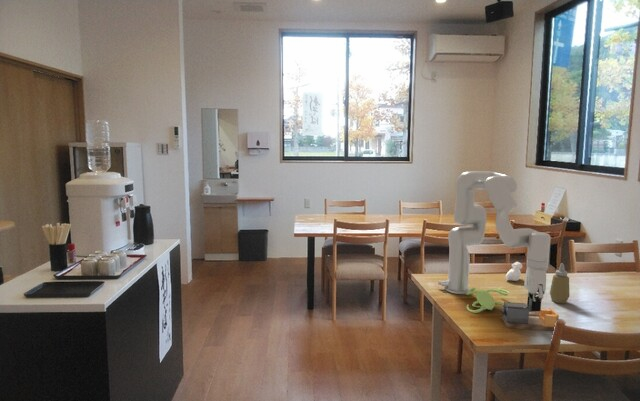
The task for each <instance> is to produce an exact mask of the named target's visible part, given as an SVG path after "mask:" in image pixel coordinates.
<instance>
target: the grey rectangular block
mask: <svg viewBox="0 0 640 401" xmlns="http://www.w3.org/2000/svg"><path fill="white" fill-rule="evenodd" d="M532 301H533V297H530V296H529V303H528V307H529V317H534V318H539V316H540V311H532V310H531V308H532ZM506 314H507V307H506Z"/></svg>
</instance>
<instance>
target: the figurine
mask: <svg viewBox="0 0 640 401" xmlns="http://www.w3.org/2000/svg"><path fill="white" fill-rule="evenodd" d="M495 292H496V293H497V294H500V296H501V295H502V296H505V297H506V296H508V295H509V293H510V291H508V290H506V289H503V288H499V287H498V288H497V289H496V288H495V289H494V288H489V289H478V290H477V289H476V287H471V289H470V290H469V291H468V292H467V293H466V294H465V295H466V296H470V295H473V294H475V298H476V300H475V301H473V303H472V304H471V305H472V307H474V308H478V309H470V307H469V306H470V305H469V303H468V304H467V305H466V309H467V311H468V312H470V313H473V314H477V313H481V312H483V311H486V310H490V311H493V309H494V308H495V306H496V305H498V306H501V307H502V308H501V309H500V311H502V312H503V311H504V302H498V301H495V299H494V297H493V296H492V295H491V294H490V293H495ZM477 304H479V305H477Z"/></svg>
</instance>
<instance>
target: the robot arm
mask: <svg viewBox="0 0 640 401" xmlns="http://www.w3.org/2000/svg"><path fill="white" fill-rule="evenodd" d="M517 188H518V184H517V181H516V180H515V178H514V177H513V176H511V175H508V174H504V173H499V172H496V171H490V170H485V171H484V170H483V171H481V170H474V171H473V170H472V171H465V172H462V173H461V174H459V176H458V177H457V179H456V181H455V191H456V192H455V196H456V197H455V202H454V204H455V205H454V210H453V219H454V223H456V224H458V225H462V226H457V227H454V228H451V229H450V230H449V232H448V235H447V237H448V239H447V240H448V246H449V250H448V251H449V254H448V255H449V256H448V258H449V260H448V272H447V275H448V276H447V278H446V280H437V285H440V286H442V287H443V289H444V290H445V291H446V292H447V293H451V294H455V295H466V293H467V292H468V291H469V290H470V289H472V287H471V288H470V287H469V279H470V278H469V275H470V264H471V263H470V262H471V261H470V258H471V256H470V251H469V250H468V247H472V246H473V247H474V246H478V245H480V244H482V243H483V241H484V239H485V233H486V225H487V211H486V209H485V207H484V206H482V205H481V204H475V201H476V200H475V199H476V197H475V194H474V193H475V192H474V191H473V190H475V191H476V190H479V191H480V190H484V191H485V192H486V195H487V196H488V198H489V199H490V201H491V203H492V205H493V208H494V209H495V211H496V216H495V229H496V232H497V233H498V235H499V237H500V238H499V239H501V241H502V243H504V245H505V246H507V247H508V248H511V249H518V248H527V254H526V255H527V256H526V269H525V270H526V271H525V278H524V284H523V286H524V288H525V290H527V291H528V292H527V301H526V302H527V304H526V305H527V306H528V303H529V296H530V297H533V301H532V308H531V310H532V311H540V310H541V309H542V301H543V299H544V295H545V294H546V291H547V290H546V289H547V270H549V262H550V249H551V240H552V238H551V235H550V234H549V233H547V232H544V231H543V232H542V231H538V230H535V229H533V228H530V227H529V228H528V227H522V228H513V226H512V224H511V222H510V217H509V215H510V213H512V212H513V211H514V210H515V209H516V208H517V204H518V203H517V201H516V200H515V198H514V196H513V194H514V193H516V191H517ZM463 225H464V226H463ZM466 225H469V226H466Z"/></svg>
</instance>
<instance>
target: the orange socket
mask: <svg viewBox="0 0 640 401" xmlns="http://www.w3.org/2000/svg"><path fill="white" fill-rule="evenodd" d="M559 317H560V315H559V314H558V313H557V312H556V311H555V309H553V308H552V307H549V309H548V308H541V310H540V316H539V317H538V318H539V320H540V321H541V322H542V323H543V325H544V326H546V327H555V323H556V321H557V320H558V321H559Z"/></svg>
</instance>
